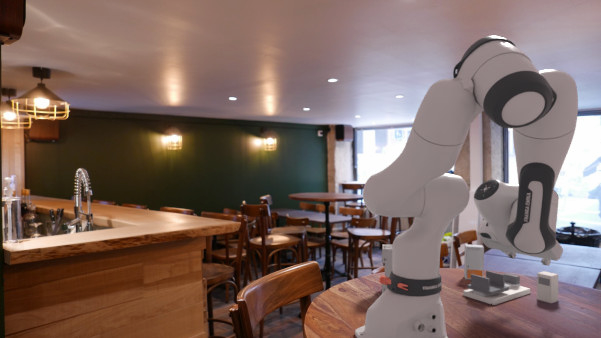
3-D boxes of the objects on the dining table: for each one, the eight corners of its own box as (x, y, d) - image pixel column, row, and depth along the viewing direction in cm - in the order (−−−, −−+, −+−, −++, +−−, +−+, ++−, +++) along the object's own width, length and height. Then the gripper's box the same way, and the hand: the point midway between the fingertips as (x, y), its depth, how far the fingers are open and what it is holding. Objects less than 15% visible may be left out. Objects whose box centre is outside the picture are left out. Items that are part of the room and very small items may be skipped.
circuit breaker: (430, 300, 115) (430, 250, 115) (382, 297, 118) (382, 248, 118) (427, 292, 122) (427, 245, 122) (381, 289, 125) (381, 244, 125)
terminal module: (551, 303, 113) (551, 276, 113) (536, 299, 116) (536, 273, 116) (558, 300, 115) (558, 274, 115) (543, 296, 118) (543, 271, 118)
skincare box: (465, 279, 136) (465, 246, 136) (464, 276, 140) (464, 243, 140) (484, 281, 134) (484, 247, 134) (482, 278, 138) (482, 244, 138)
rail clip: (490, 299, 112) (490, 280, 112) (466, 291, 119) (466, 273, 119) (527, 287, 123) (527, 270, 122) (502, 281, 129) (502, 265, 129)
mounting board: (493, 305, 111) (493, 300, 111) (463, 295, 120) (463, 290, 120) (530, 293, 122) (530, 288, 122) (499, 284, 130) (499, 280, 130)
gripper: (555, 224, 96) (574, 258, 102) (480, 215, 114) (500, 245, 119) (546, 244, 94) (566, 277, 99) (471, 232, 112) (491, 261, 117)
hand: (529, 259), depth 109 cm, fingers open, 8 cm apart
